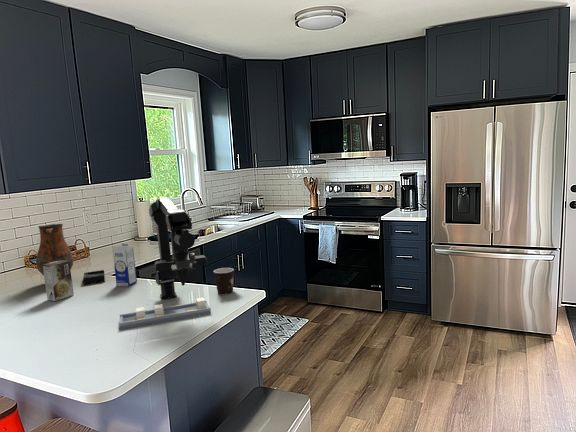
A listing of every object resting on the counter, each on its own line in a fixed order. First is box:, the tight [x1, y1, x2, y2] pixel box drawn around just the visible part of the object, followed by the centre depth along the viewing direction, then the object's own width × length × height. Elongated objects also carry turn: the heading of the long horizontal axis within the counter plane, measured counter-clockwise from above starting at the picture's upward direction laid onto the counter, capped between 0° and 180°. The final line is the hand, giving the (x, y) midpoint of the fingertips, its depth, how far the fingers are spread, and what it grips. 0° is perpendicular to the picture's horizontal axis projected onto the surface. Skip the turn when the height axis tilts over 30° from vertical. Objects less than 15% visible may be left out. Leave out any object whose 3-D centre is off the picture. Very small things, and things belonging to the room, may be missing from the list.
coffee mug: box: [213, 267, 235, 295], centre depth 183 cm, size 12×9×10 cm
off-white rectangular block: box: [153, 303, 164, 316], centre depth 158 cm, size 4×3×3 cm
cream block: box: [195, 296, 207, 309], centre depth 164 cm, size 4×3×3 cm
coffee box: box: [42, 260, 75, 302], centre depth 191 cm, size 9×6×16 cm
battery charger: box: [82, 269, 106, 286], centre depth 217 cm, size 13×10×4 cm
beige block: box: [135, 306, 146, 319], centre depth 156 cm, size 4×3×3 cm
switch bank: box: [118, 300, 212, 331], centre depth 159 cm, size 10×32×2 cm, turn 110°
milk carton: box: [111, 243, 138, 287], centre depth 206 cm, size 7×7×20 cm
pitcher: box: [35, 223, 74, 276], centre depth 214 cm, size 17×21×30 cm
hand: (183, 285), depth 161 cm, fingers closed
